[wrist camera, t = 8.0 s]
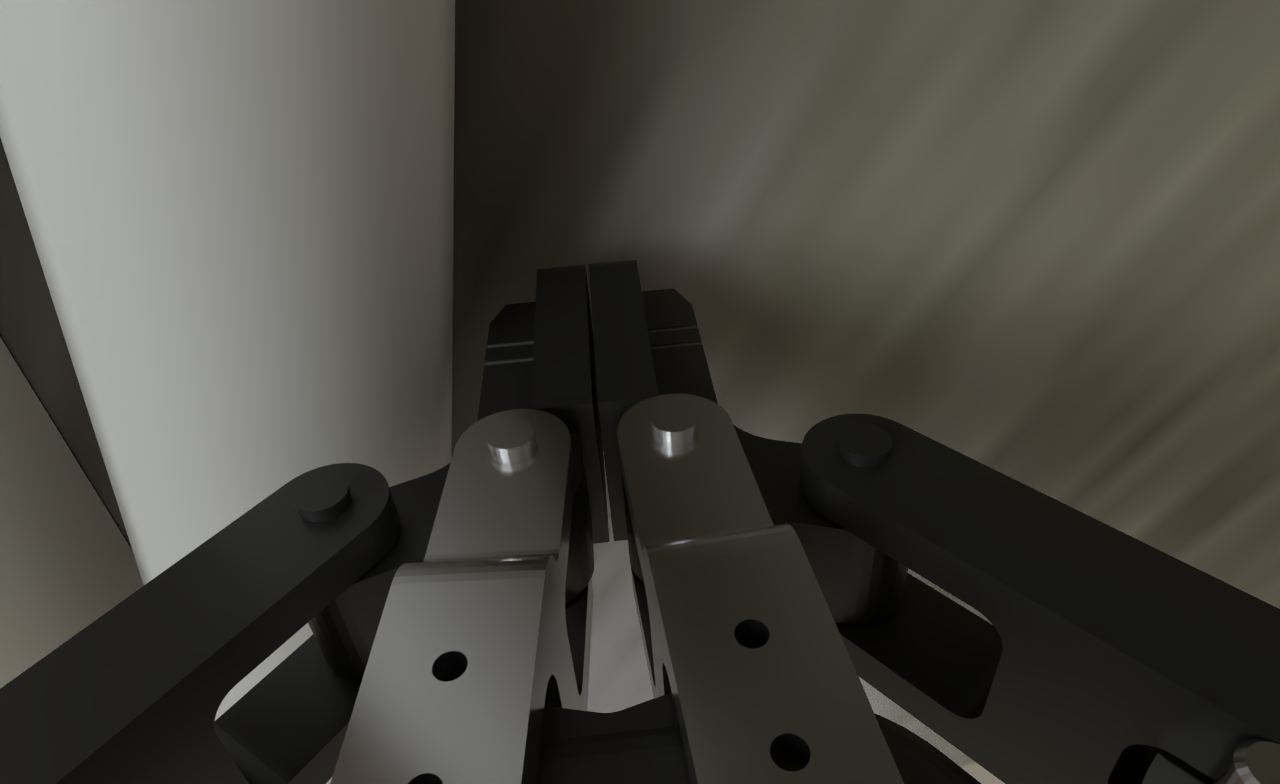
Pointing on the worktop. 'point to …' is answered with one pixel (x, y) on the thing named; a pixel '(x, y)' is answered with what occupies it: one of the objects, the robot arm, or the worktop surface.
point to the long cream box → (49, 535)
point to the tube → (241, 242)
